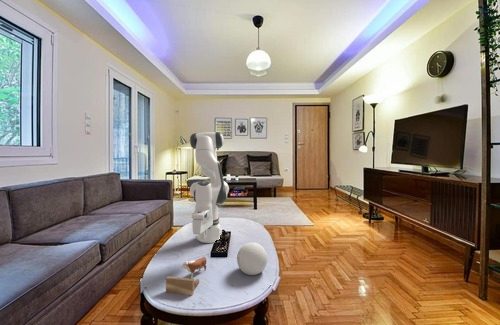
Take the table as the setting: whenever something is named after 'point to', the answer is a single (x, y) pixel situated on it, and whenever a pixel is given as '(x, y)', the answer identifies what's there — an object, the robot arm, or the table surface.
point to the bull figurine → (195, 265)
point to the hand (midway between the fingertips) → (203, 238)
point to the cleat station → (181, 285)
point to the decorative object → (252, 258)
